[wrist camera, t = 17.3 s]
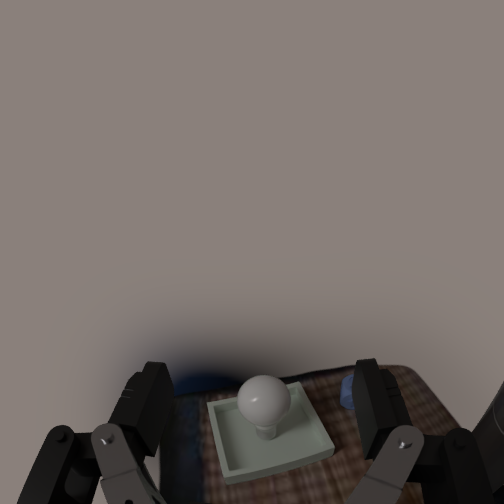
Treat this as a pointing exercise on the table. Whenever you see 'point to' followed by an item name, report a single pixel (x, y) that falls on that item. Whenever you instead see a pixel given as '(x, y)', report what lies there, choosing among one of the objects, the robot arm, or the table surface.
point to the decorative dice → (347, 393)
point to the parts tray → (272, 450)
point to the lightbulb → (264, 403)
